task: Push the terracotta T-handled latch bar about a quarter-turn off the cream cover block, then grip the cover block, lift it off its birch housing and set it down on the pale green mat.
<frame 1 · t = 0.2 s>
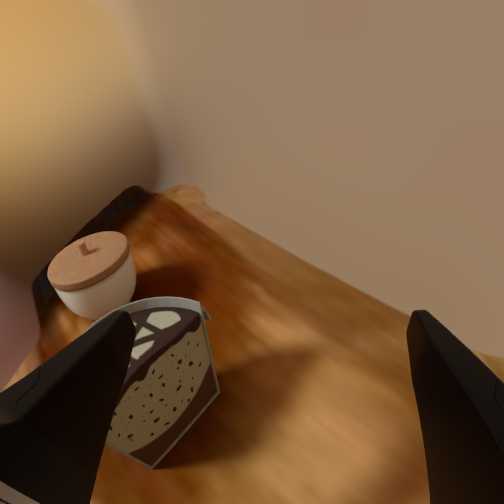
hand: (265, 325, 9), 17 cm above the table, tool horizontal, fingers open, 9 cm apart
lidded jar: (109, 306, 36), on the table
food container: (161, 413, 24), on the table
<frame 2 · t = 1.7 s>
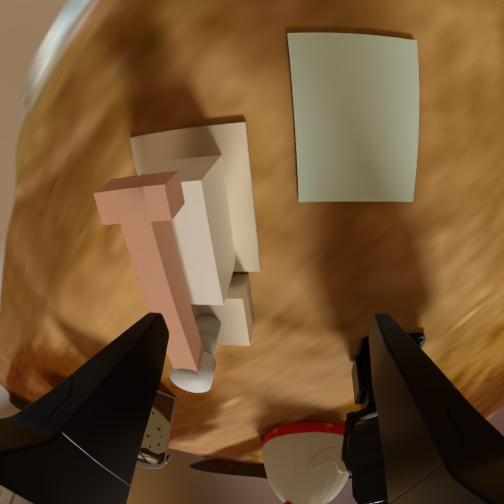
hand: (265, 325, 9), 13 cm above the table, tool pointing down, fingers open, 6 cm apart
housing: (198, 210, 22), on the table
kitchen timer: (309, 439, 40), on the table
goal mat: (358, 118, 17), on the table
latch bar: (170, 306, 17), point 8 cm above the table, hinge at 0.0°
cover block: (197, 213, 22), resting on housing
food container: (141, 392, 38), on the table
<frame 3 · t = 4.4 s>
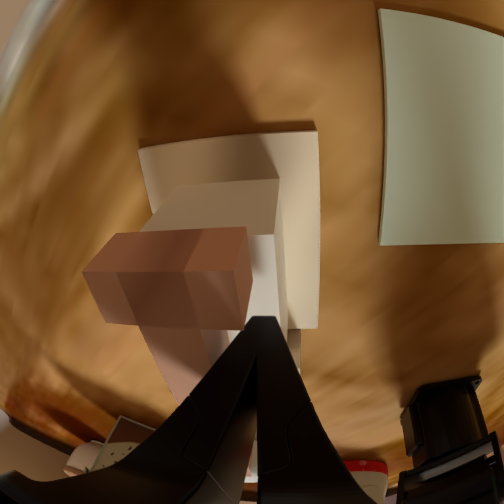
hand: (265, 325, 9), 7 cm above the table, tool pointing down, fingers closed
housing: (239, 253, 16), on the table
kitchen timer: (338, 473, 34), on the table
lidded jar: (107, 447, 40), on the table
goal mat: (461, 136, 11), on the table
latch bar: (218, 412, 11), point 8 cm above the table, hinge at 0.0°, touching gripper
cover block: (238, 258, 16), resting on housing
food container: (155, 436, 32), on the table
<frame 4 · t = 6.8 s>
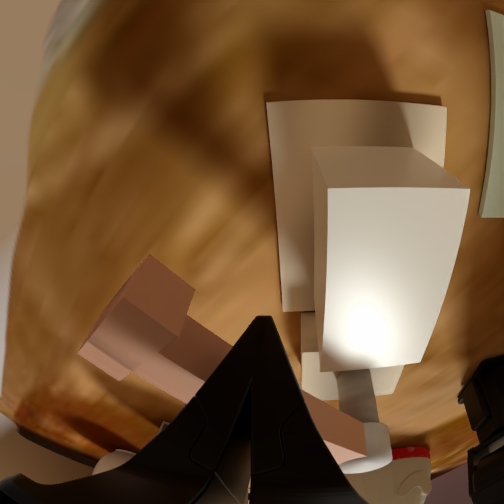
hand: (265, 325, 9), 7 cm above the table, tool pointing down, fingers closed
housing: (359, 225, 14), on the table
kitchen timer: (381, 464, 33), on the table
lidded jar: (134, 456, 38), on the table
latch bar: (283, 415, 10), point 8 cm above the table, hinge at 40.6°, touching gripper
cover block: (361, 229, 14), resting on housing
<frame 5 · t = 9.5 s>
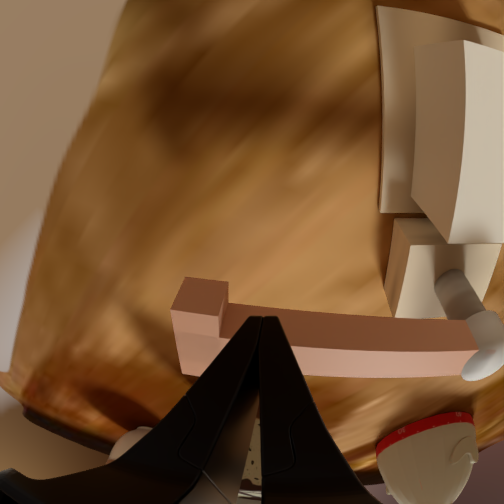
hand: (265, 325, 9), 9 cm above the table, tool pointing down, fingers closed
housing: (450, 125, 13), on the table
kitchen timer: (424, 435, 31), on the table
lidded jar: (157, 435, 37), on the table
latch bar: (370, 347, 11), point 8 cm above the table, hinge at 81.7°
cover block: (453, 127, 13), resting on housing
food container: (243, 407, 29), on the table
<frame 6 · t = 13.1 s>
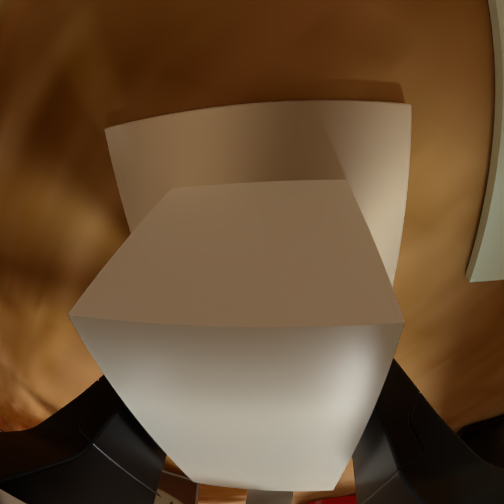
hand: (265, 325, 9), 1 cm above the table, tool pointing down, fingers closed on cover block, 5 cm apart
housing: (268, 294, 10), on the table
kitchen timer: (353, 502, 29), on the table
cover block: (267, 302, 10), resting on housing, touching gripper
food container: (152, 470, 26), on the table
when the fingers open (3 cm above the table, at t = 17.5 s): cover block drops 1 cm, resting on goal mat.
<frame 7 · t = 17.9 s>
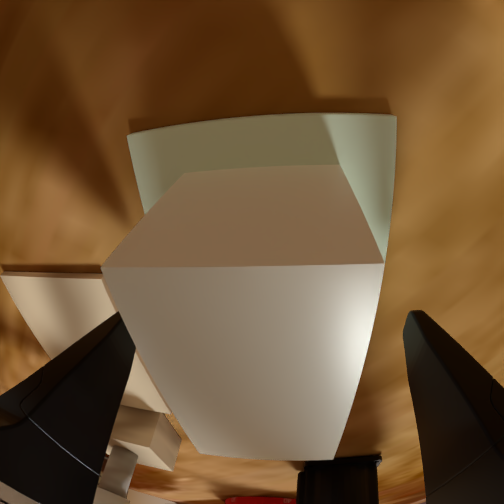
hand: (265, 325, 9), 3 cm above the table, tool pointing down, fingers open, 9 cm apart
housing: (90, 354, 16), on the table
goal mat: (270, 273, 11), on the table
latch bar: (42, 473, 14), point 8 cm above the table, hinge at 81.7°
cover block: (269, 279, 11), resting on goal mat
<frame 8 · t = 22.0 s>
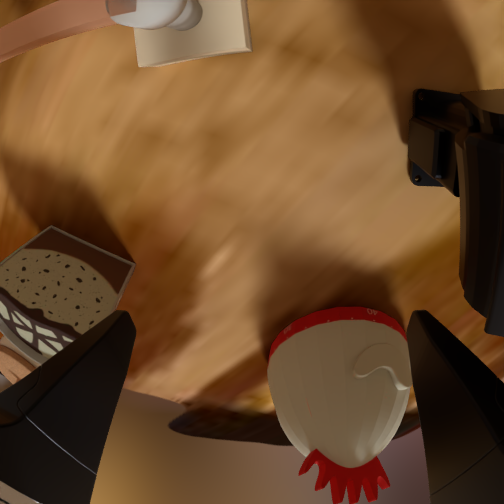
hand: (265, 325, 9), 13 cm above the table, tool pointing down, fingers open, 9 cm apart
kitchen timer: (338, 356, 29), on the table
lidded jar: (48, 337, 35), on the table
latch bar: (41, 27, 9), point 8 cm above the table, hinge at 81.7°
food container: (89, 267, 27), on the table
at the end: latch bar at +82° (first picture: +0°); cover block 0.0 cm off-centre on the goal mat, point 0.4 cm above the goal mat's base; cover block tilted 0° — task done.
